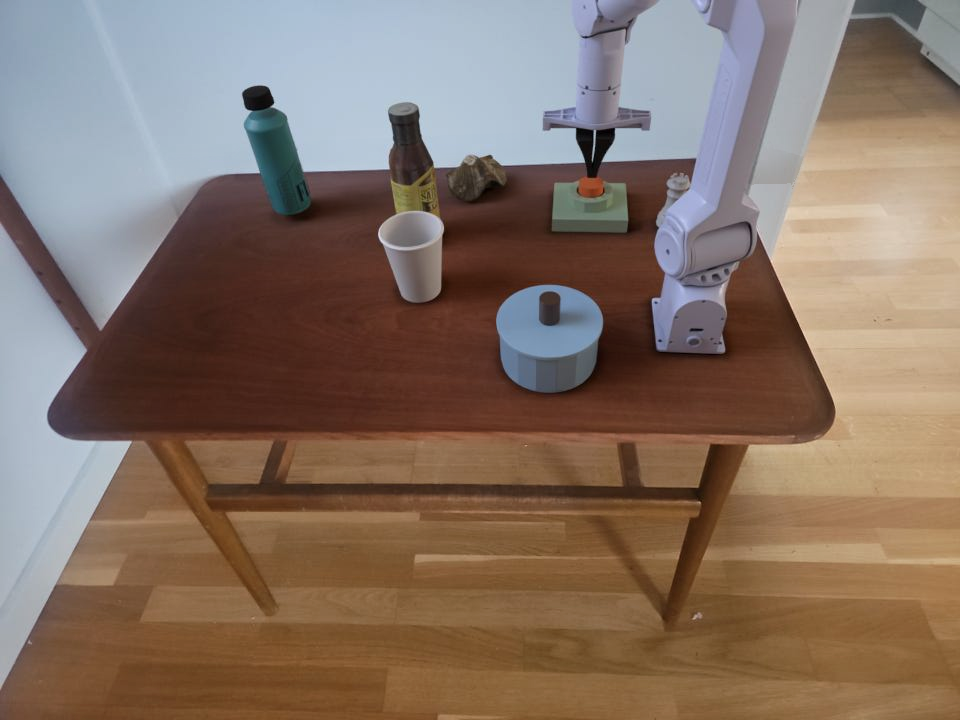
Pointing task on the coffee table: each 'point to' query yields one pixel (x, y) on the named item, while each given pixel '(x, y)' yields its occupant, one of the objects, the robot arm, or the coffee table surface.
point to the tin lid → (549, 322)
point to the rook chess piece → (673, 194)
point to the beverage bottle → (275, 152)
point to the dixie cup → (414, 253)
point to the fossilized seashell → (475, 177)
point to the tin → (548, 370)
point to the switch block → (590, 209)
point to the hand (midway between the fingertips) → (591, 174)
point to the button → (590, 187)
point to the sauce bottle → (411, 163)
